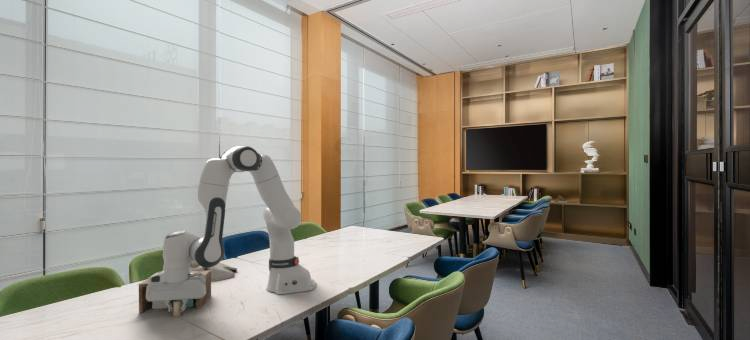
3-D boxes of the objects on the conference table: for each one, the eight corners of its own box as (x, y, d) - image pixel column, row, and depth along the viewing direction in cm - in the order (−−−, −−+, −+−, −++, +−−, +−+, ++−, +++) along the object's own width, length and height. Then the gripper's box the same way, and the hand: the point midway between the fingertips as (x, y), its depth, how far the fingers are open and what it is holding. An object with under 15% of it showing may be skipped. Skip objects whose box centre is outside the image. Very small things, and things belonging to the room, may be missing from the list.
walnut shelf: (211, 295, 146) (210, 270, 146) (199, 308, 132) (199, 280, 132) (156, 299, 143) (156, 273, 143) (138, 312, 129) (138, 284, 129)
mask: (179, 256, 178) (238, 253, 186) (179, 273, 178) (238, 269, 186) (166, 267, 159) (233, 263, 167) (166, 286, 159) (233, 281, 167)
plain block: (173, 302, 139) (173, 290, 139) (167, 308, 133) (167, 295, 133) (159, 303, 138) (158, 291, 138) (152, 309, 133) (152, 296, 132)
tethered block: (198, 301, 140) (198, 288, 140) (183, 316, 125) (183, 301, 125) (184, 302, 139) (184, 289, 139) (167, 317, 125) (167, 302, 124)
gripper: (208, 270, 131) (208, 305, 131) (152, 273, 128) (152, 309, 128) (202, 275, 124) (203, 312, 124) (143, 278, 121) (143, 316, 121)
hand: (177, 310), depth 126 cm, fingers closed on tethered block, 2 cm apart
